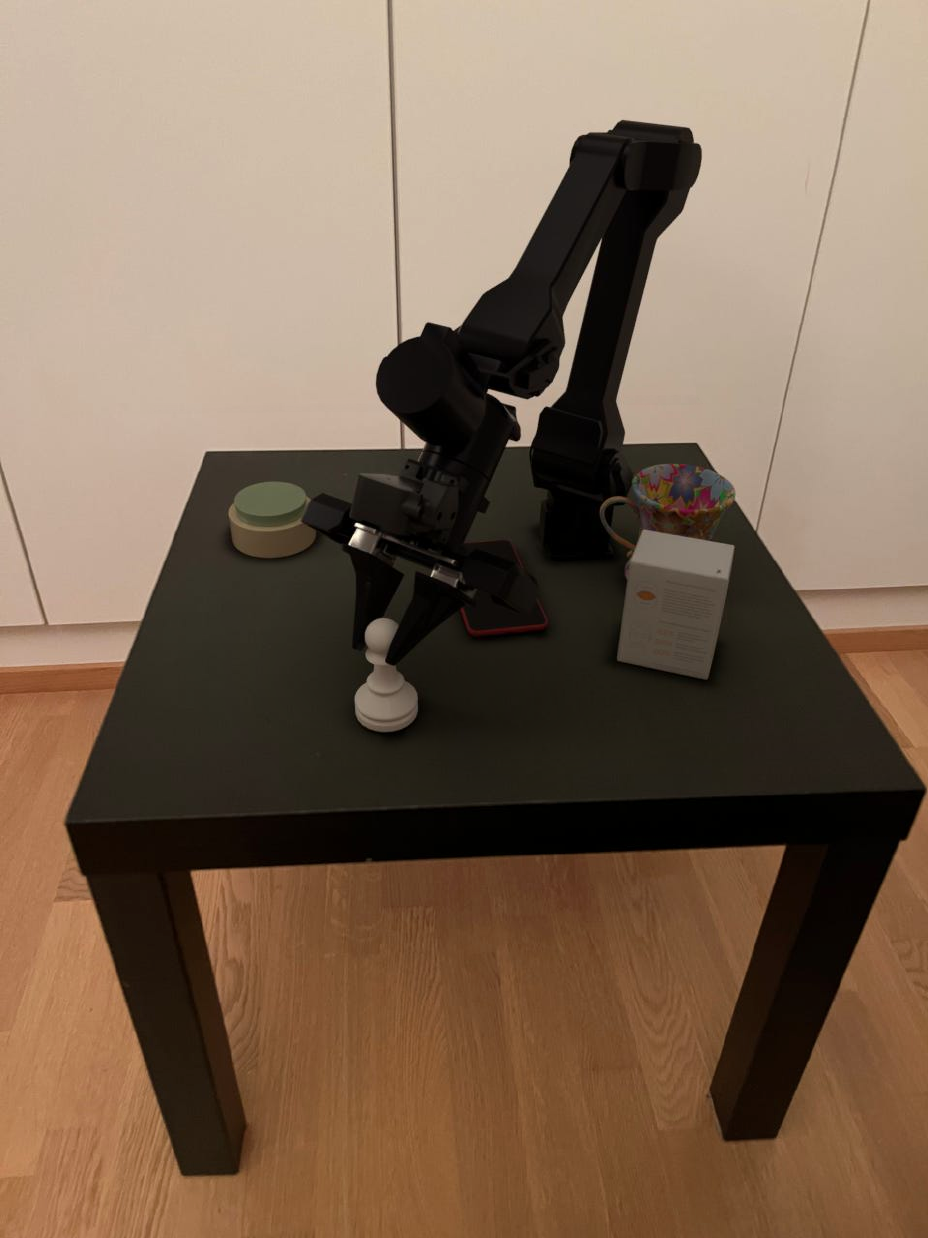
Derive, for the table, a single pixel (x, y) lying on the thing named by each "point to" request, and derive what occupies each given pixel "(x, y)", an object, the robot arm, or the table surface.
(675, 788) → the table surface
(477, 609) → the smartphone
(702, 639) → the small box
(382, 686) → the chess pawn
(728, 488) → the mug
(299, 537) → the push button
